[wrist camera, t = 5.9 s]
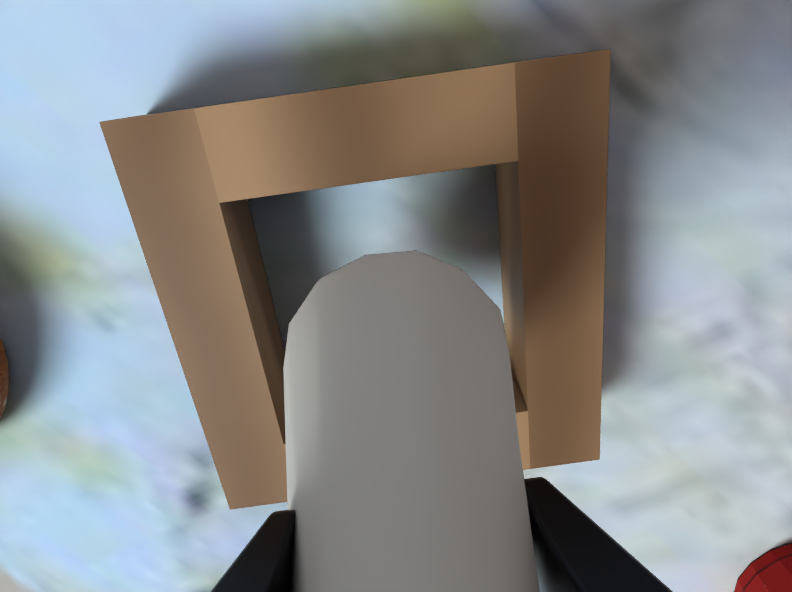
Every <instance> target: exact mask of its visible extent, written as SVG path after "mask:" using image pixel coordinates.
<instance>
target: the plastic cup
mask: <svg viewBox="0 0 792 592" xmlns="http://www.w3.org/2000/svg"><path fill="white" fill-rule="evenodd" d="M734 592H792V543H791V544H789V545H786V546H783V547H780V548H777V549H774V550H771V551H769V552H768V553H766V554H765V555H763V556H762V557H760V558H759V559H757V560H756V561H754V562H753V563H751V564H750V565H749V567H748V568H747V569H746V570H745V571H744V573H743V574H742V575H741V576H740V577H739V579H738V581H737V584H736V588H735V591H734Z"/></svg>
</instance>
